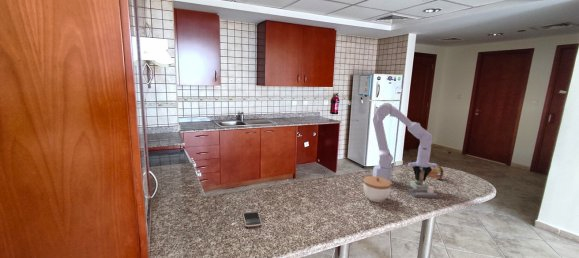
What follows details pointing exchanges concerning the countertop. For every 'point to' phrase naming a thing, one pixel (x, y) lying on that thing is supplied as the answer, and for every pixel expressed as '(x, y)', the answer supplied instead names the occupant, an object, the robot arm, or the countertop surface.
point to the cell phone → (252, 219)
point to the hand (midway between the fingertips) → (420, 179)
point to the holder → (415, 186)
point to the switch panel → (422, 193)
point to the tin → (435, 172)
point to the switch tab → (430, 189)
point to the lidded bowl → (376, 188)
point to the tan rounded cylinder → (421, 178)
